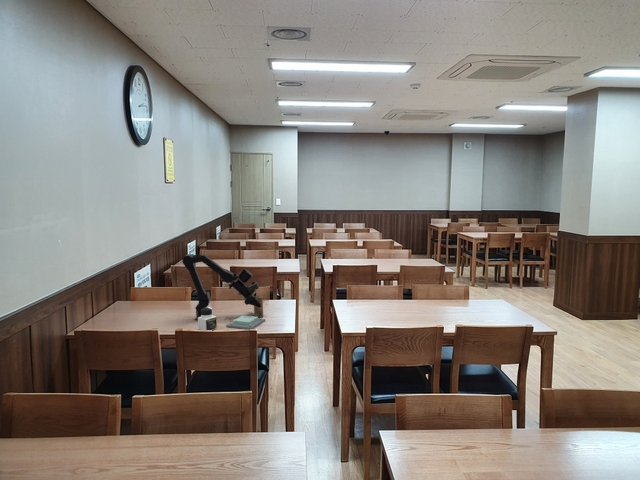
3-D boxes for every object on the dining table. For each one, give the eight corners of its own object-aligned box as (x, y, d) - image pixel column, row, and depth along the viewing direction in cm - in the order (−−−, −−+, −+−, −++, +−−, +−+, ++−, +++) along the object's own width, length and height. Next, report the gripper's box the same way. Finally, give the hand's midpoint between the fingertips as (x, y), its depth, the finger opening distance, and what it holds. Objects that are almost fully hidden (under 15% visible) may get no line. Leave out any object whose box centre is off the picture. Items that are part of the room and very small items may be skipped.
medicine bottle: (206, 332, 236) (205, 310, 235) (198, 329, 241) (197, 308, 239) (217, 328, 242) (216, 307, 240) (208, 326, 246) (207, 305, 245)
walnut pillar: (254, 317, 260) (253, 298, 258) (254, 315, 265) (254, 295, 263) (262, 317, 260) (262, 297, 259) (263, 314, 265) (262, 295, 264)
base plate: (226, 327, 244) (226, 321, 244) (241, 318, 259) (240, 313, 258) (251, 330, 238) (251, 324, 238) (265, 321, 253) (265, 315, 253)
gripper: (249, 281, 250) (269, 300, 252) (251, 275, 268) (270, 291, 271) (236, 295, 250) (256, 313, 253) (239, 288, 269) (258, 304, 271)
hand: (260, 305), depth 262 cm, fingers closed on walnut pillar, 5 cm apart
